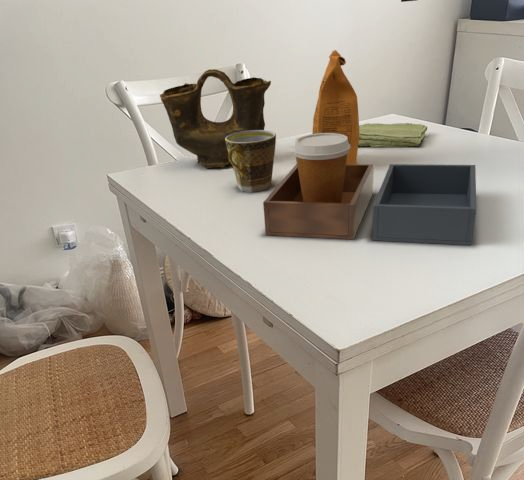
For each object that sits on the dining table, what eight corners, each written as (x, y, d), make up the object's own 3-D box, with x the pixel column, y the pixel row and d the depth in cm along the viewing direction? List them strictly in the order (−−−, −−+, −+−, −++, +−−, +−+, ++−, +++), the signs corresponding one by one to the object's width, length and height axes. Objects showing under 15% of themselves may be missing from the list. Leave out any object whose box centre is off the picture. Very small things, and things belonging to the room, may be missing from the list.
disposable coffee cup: (311, 224, 90) (309, 150, 83) (286, 207, 98) (282, 138, 91) (360, 212, 93) (362, 139, 86) (332, 197, 100) (332, 129, 94)
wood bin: (372, 194, 102) (373, 164, 99) (353, 239, 85) (354, 205, 82) (297, 192, 106) (296, 163, 103) (265, 235, 89) (263, 202, 86)
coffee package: (355, 156, 124) (358, 47, 111) (359, 172, 113) (362, 54, 101) (312, 158, 125) (309, 51, 112) (312, 175, 114) (309, 58, 102)
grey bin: (470, 196, 97) (475, 164, 94) (470, 245, 80) (476, 208, 77) (388, 194, 101) (390, 164, 98) (371, 240, 84) (373, 205, 81)
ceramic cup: (246, 177, 117) (242, 128, 111) (287, 181, 112) (284, 131, 107) (213, 196, 108) (206, 145, 102) (255, 202, 103) (251, 148, 98)
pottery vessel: (276, 153, 131) (270, 61, 120) (275, 165, 122) (269, 68, 111) (175, 160, 133) (160, 70, 122) (167, 173, 124) (150, 78, 113)
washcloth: (422, 148, 125) (423, 133, 123) (346, 147, 130) (347, 133, 129) (427, 134, 135) (428, 120, 133) (357, 134, 140) (357, 121, 139)
